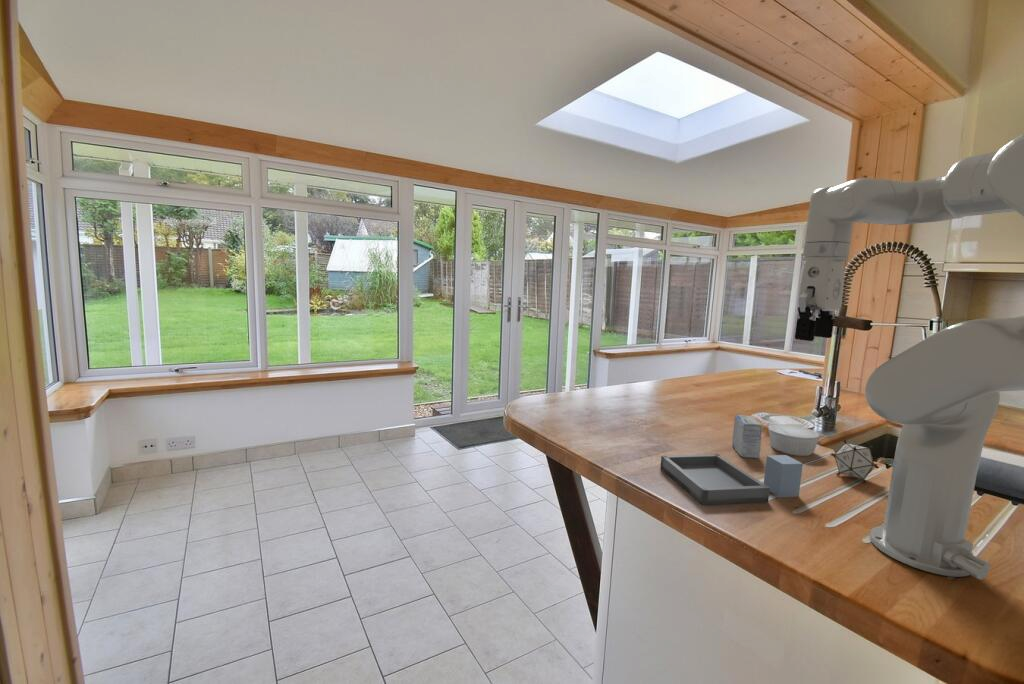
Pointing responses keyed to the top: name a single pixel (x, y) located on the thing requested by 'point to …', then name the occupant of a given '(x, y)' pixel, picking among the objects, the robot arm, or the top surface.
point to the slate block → (783, 475)
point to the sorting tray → (714, 479)
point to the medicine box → (747, 436)
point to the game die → (854, 460)
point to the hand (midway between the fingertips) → (813, 338)
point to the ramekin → (793, 439)
